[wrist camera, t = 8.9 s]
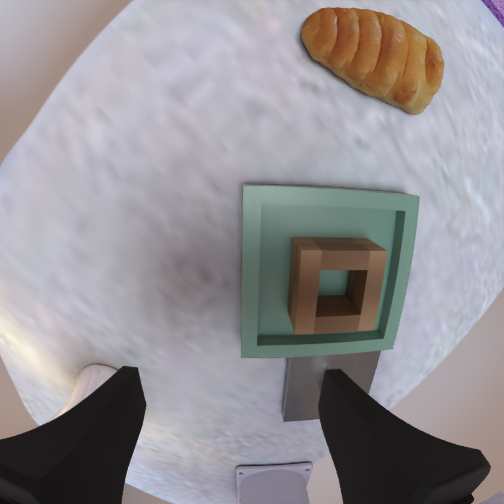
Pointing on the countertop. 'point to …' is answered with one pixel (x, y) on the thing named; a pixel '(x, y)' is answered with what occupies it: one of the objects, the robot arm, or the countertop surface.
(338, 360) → the grey peg base
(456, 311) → the countertop surface
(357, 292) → the collar
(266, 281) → the tray
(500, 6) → the sponges
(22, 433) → the robot arm
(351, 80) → the pastry
